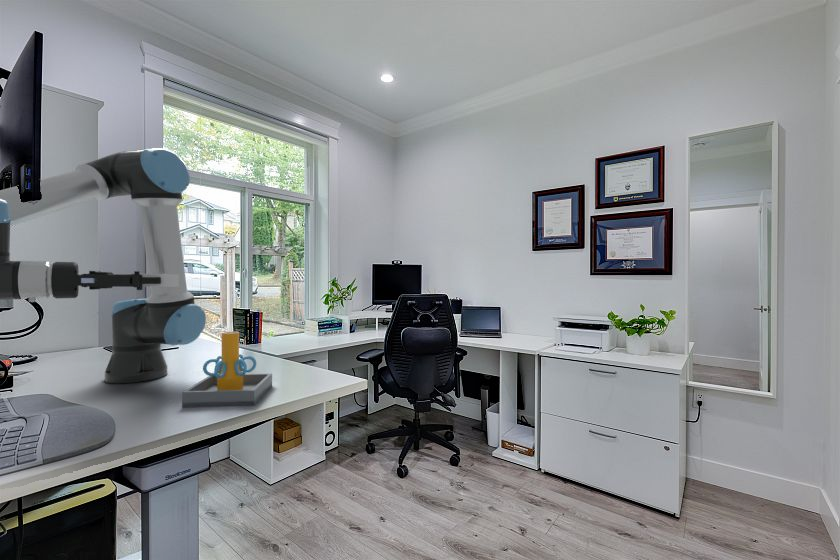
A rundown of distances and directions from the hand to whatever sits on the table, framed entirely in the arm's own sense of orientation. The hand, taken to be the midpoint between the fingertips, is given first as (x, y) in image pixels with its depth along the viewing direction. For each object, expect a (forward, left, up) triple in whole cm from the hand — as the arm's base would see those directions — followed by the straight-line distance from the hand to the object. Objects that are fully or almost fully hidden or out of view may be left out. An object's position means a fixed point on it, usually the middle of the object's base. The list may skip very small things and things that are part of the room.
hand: (175, 279), depth 92 cm
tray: (-5, +11, -29) cm, 32 cm away
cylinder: (-6, +11, -29) cm, 31 cm away
